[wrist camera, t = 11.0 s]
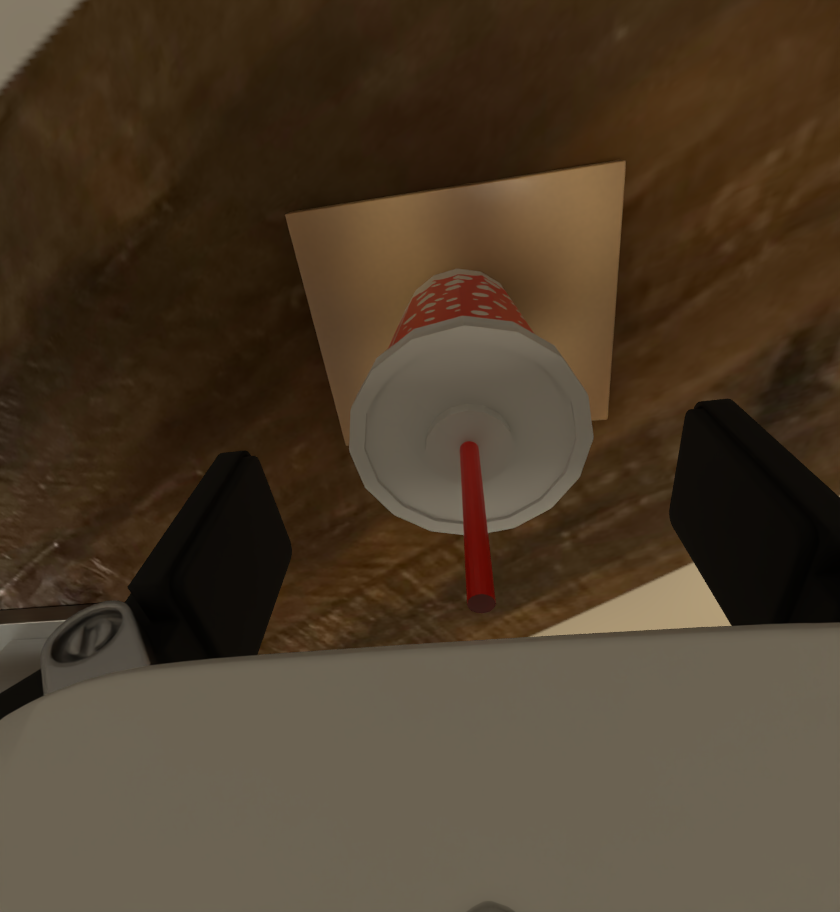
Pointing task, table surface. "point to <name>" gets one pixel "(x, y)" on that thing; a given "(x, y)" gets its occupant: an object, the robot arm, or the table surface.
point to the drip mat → (468, 266)
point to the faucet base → (27, 639)
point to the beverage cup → (469, 420)
